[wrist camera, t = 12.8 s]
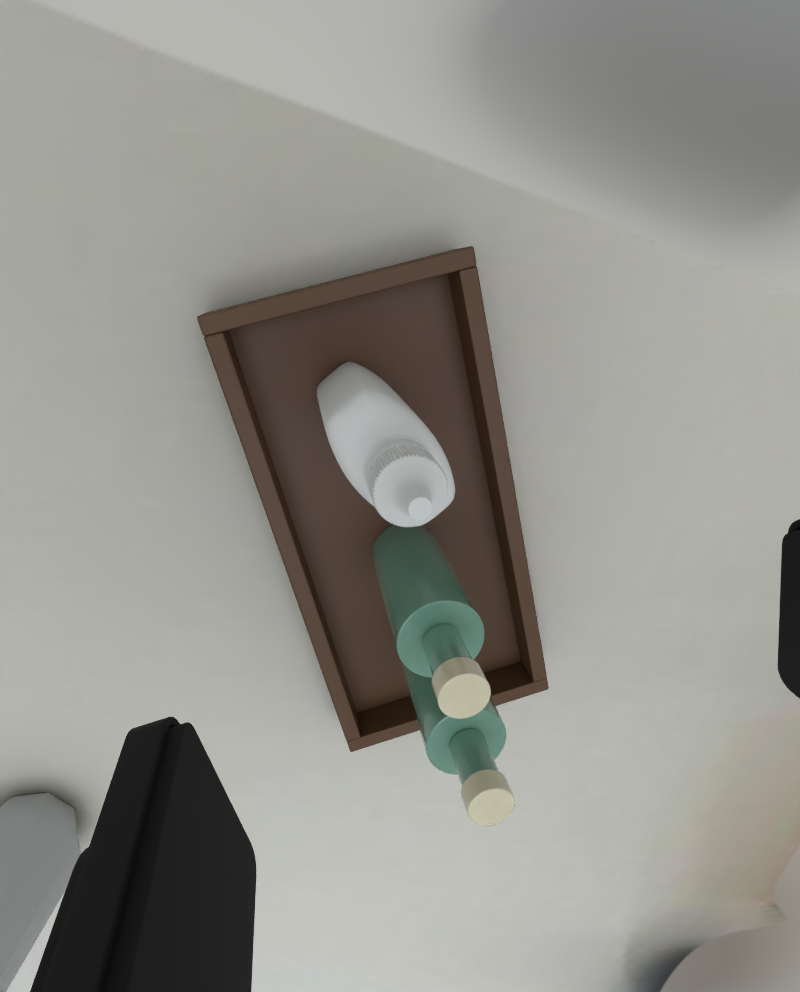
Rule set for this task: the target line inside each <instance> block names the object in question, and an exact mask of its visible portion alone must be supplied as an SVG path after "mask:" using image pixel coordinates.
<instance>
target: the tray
mask: <svg viewBox="0 0 800 992" xmlns="http://www.w3.org/2000/svg"><path fill="white" fill-rule="evenodd" d="M475 266H476V259H475V253H474V248H473V247H472V246H471V247H465V248H460V249H455V250H451V251H447V252H443V253H439V254H435V255H431V256H427V257H423V258H420V259H416V260H412V261H408V262H404V263H400V264H396V265H392V266H388V267H384V268H380V269H376V270H372V271H369V272H365V273H361V274H357V275H353V276H349V277H345V278H341V279H337V280H333V281H329V282H325V283H321V284H318V285H314V286H310V287H306V288H302V289H298V290H294V291H290V292H286V293H282V294H278V295H274V296H270V297H267V298H263V299H259V300H255V301H251V302H247V303H243V304H239V305H235V306H231V307H227V308H223V309H220V310H216V311H212V312H208V313H205V314H202V315H200V316H198V317H197V319H198V322H199V325H200V328H201V331H202V334H203V335H204V336H205V337H204V339H205V342H206V345H207V348H208V351H209V353H210V356H211V359H212V362H213V365H214V368H215V370H216V373H217V376H218V379H219V382H220V385H221V387H222V390H223V393H224V396H225V399H226V401H227V404H228V407H229V410H230V413H231V416H232V418H233V421H234V424H235V427H236V430H237V433H238V435H239V438H240V441H241V444H242V447H243V450H244V452H245V455H246V458H247V461H248V464H249V467H250V469H251V472H252V475H253V478H254V481H255V483H256V486H257V489H258V492H259V495H260V498H261V500H262V503H263V506H264V509H265V512H266V515H267V517H268V520H269V523H270V526H271V529H272V532H273V534H274V537H275V540H276V543H277V546H278V548H279V551H280V554H281V557H282V560H283V563H284V565H285V568H286V571H287V574H288V577H289V580H290V582H291V585H292V588H293V591H294V594H295V597H296V599H297V602H298V605H299V608H300V611H301V614H302V616H303V619H304V622H305V625H306V628H307V630H308V633H309V636H310V639H311V642H312V645H313V647H314V650H315V653H316V656H317V659H318V662H319V664H320V667H321V670H322V673H323V676H324V679H325V681H326V684H327V687H328V690H329V693H330V695H331V698H332V701H333V704H334V707H335V710H336V712H337V715H338V718H339V721H340V724H341V727H342V729H343V732H344V735H345V738H346V740H347V743H348V746H349V749H350V751H351V752H353V751H356V750H359V749H362V748H365V747H368V746H371V745H375V744H378V743H381V742H384V741H387V740H390V739H393V738H396V737H400V736H403V735H406V734H409V733H412V732H415V731H418V730H420V728H419V725H418V721H417V718H416V714H415V711H414V707H413V704H412V700H411V697H410V693H409V690H408V686H407V683H406V679H405V676H404V672H403V669H402V665H401V662H400V658H399V655H398V652H397V649H396V645H395V642H394V638H393V635H392V631H391V627H390V624H389V620H388V617H387V613H386V610H385V606H384V603H383V599H382V596H381V592H380V589H379V585H378V582H377V578H376V575H375V571H374V567H373V564H372V558H371V554H372V548H373V545H374V543H375V541H376V539H377V538H378V536H379V535H380V534H381V533H382V532H383V531H384V530H386V529H387V528H389V527H390V526H392V525H394V524H393V523H391V524H390V522H387V520H385V519H384V518H383V517H381V515H380V514H379V513H378V511H377V510H376V508H375V507H374V506H373V505H371V504H370V503H369V502H368V501H367V500H366V499H365V498H363V497H362V495H361V494H360V493H359V492H358V491H357V490H356V489H355V488H354V487H353V485H352V484H351V483H350V481H349V480H348V478H347V477H346V476H345V474H344V472H343V471H342V469H341V467H340V465H339V464H338V462H337V460H336V457H335V455H334V453H333V451H332V448H331V446H330V443H329V440H328V437H327V434H326V431H325V427H324V423H323V419H322V415H321V411H320V407H319V402H318V398H317V387H318V386H319V384H320V383H321V382H322V381H323V380H324V379H325V378H326V377H327V376H328V375H330V374H331V373H332V372H333V371H334V370H336V369H337V368H338V367H339V366H341V365H342V364H344V363H346V362H355V363H357V364H359V365H361V366H363V367H365V368H367V369H368V370H370V371H371V372H373V373H374V374H376V375H377V376H378V377H380V378H381V379H382V380H383V381H385V382H386V383H387V384H388V385H389V386H390V387H391V388H392V389H393V390H394V391H395V392H396V393H397V394H398V396H399V397H400V398H401V399H402V400H403V401H404V402H405V403H406V404H407V405H408V406H409V407H410V409H411V410H412V411H413V412H414V413H415V414H416V415H417V416H418V417H419V418H420V419H421V421H422V422H423V423H424V424H425V425H426V426H427V427H428V429H429V430H430V431H431V433H432V434H433V435H434V437H435V438H436V440H437V441H438V443H439V444H440V446H441V448H442V450H443V451H444V454H445V456H446V458H447V460H448V463H449V465H450V468H451V472H452V475H453V479H454V484H455V495H454V499H453V500H452V502H451V503H450V505H449V506H447V507H446V508H445V509H444V510H443V511H442V512H441V513H439V514H438V515H437V516H436V517H435V518H433V519H432V520H430V521H429V522H427V523H426V524H423V526H425V527H427V528H428V529H429V530H430V531H431V532H432V533H433V534H434V536H435V537H436V539H437V541H438V542H439V544H440V546H441V548H442V550H443V551H444V553H445V555H446V557H447V559H448V560H449V562H450V564H451V566H452V568H453V569H454V571H455V573H456V575H457V577H458V578H459V580H460V582H461V584H462V586H463V587H464V589H465V591H466V593H467V595H468V596H469V598H470V600H471V602H472V604H473V605H474V607H475V609H476V611H477V612H478V614H479V616H480V618H481V620H482V622H483V626H484V641H483V645H482V648H481V650H480V652H479V653H478V655H477V657H476V658H475V659H474V661H476V662H477V663H478V664H479V665H480V667H481V669H482V671H483V673H484V675H485V677H486V679H487V681H488V683H489V685H490V689H491V695H490V696H491V698H492V700H493V702H494V704H495V706H497V705H500V704H503V703H506V702H509V701H513V700H516V699H519V698H522V697H525V696H528V695H531V694H534V693H538V692H541V691H544V690H547V689H548V682H547V676H546V670H545V664H544V658H543V652H542V646H541V640H540V634H539V629H538V623H537V617H536V611H535V605H534V599H533V593H532V588H531V582H530V576H529V570H528V564H527V558H526V552H525V546H524V541H523V535H522V529H521V523H520V517H519V511H518V505H517V499H516V494H515V488H514V482H513V476H512V470H511V464H510V458H509V452H508V447H507V441H506V435H505V429H504V423H503V417H502V411H501V405H500V400H499V394H498V388H497V382H496V376H495V370H494V364H493V359H492V353H491V347H490V341H489V335H488V329H487V323H486V317H485V312H484V306H483V300H482V294H481V288H480V282H479V276H478V270H477V267H475Z"/></svg>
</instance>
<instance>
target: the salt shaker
mask: <svg viewBox="0 0 800 992" xmlns="http://www.w3.org/2000/svg"><path fill="white" fill-rule="evenodd" d="M80 853H81V851H80V846H79V841H78V837H77V829H76V819H75V809H74V808H72V807H71V806H69V805H68V804H66V803H64V802H63V801H61V800H60V799H58V798H56V797H55V796H53V795H52V794H50V793H48V792H47V793H39V794H31V795H22V796H14V797H12V798H10V799H9V800H8V801H7V802H6V803H4V804H3V805H2V806H1V807H0V992H6V991H7V989H8V987H9V986H10V984H11V982H12V981H13V979H14V977H15V975H16V974H17V972H18V970H19V968H20V967H21V965H22V963H23V962H24V960H25V958H26V956H27V955H28V953H29V951H30V950H31V948H32V946H33V944H34V943H35V941H36V939H37V938H38V936H39V934H40V932H41V931H42V929H43V927H44V926H45V924H46V922H47V920H48V919H49V917H50V915H51V914H52V912H53V910H54V908H55V907H56V905H57V903H58V902H59V900H60V898H61V896H62V895H63V893H64V891H65V890H66V888H67V885H68V882H69V879H70V877H71V874H72V871H73V868H74V866H75V864H76V862H77V860H78V858H79V856H80Z"/></svg>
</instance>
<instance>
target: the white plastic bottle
mask: <svg viewBox="0 0 800 992" xmlns="http://www.w3.org/2000/svg"><path fill="white" fill-rule="evenodd" d="M317 398H318V402H319V407H320V411H321V415H322V419H323V423H324V427H325V431H326V434H327V437H328V440H329V443H330V446H331V448H332V451H333V453H334V455H335V457H336V460H337V462H338V464H339V465H340V467H341V469H342V471H343V472H344V474H345V476H346V477H347V478H348V480H349V481H350V483H351V484H352V485H353V487H354V488H355V489H356V490H357V491H358V492H359V493H360V494H361V495H362V497H363V498H365V499H366V500H367V501H368V502H369V503H370V504H371V505H373V506H374V507H375V508H376V510H377V511H378V513H379V514H380V515H381V517H383V518H384V519H385V520H387V522H390V524H391V523H393V524H394V525H397V526H401V527H414V526H421V525H423V524H426V523H427V522H429V521H430V520H432V519H433V518H435V517H436V516H437V515H438V514H439V513H441V512H442V511H443V510H444V509H445V508H446V507H447V506H449V505H450V503H451V502H452V500H453V499H454V495H455V484H454V479H453V475H452V472H451V468H450V465H449V463H448V460H447V458H446V456H445V454H444V451H443V450H442V448H441V446H440V444H439V443H438V441H437V440H436V438H435V437H434V435H433V434H432V433H431V431H430V430H429V429H428V427H427V426H426V425H425V424H424V423H423V422H422V421H421V419H420V418H419V417H418V416H417V415H416V414H415V413H414V412H413V411H412V410H411V409H410V407H409V406H408V405H407V404H406V403H405V402H404V401H403V400H402V399H401V398H400V397H399V396H398V394H397V393H396V392H395V391H394V390H393V389H392V388H391V387H390V386H389V385H388V384H387V383H386V382H385V381H383V380H382V379H381V378H380V377H378V376H377V375H376V374H374V373H373V372H371V371H370V370H368V369H367V368H365V367H363V366H361V365H359V364H357V363H355V362H346V363H344V364H342V365H341V366H339V367H338V368H337V369H336V370H334V371H333V372H332V373H331V374H330V375H328V376H327V377H326V378H325V379H324V380H323V381H322V382H321V383H320V384H319V386H318V387H317Z"/></svg>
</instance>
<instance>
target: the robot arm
mask: <svg viewBox="0 0 800 992" xmlns="http://www.w3.org/2000/svg"><path fill="white" fill-rule="evenodd" d="M778 671H779V674H780V677H781V679H782V681H783V682H784V684H785V685H786V686H787V688H788V689H789V690H790V691H791V692H792V693H794V694H795V695H796V696H797V697H799V698H800V520H797V521H795V522H793V523H792V524H791V526H790V527H789V530H788V534H786V535H785V536H784V538H783V542H782V562H781V590H780V618H779V647H778ZM255 891H256V861H255V855H254V851H253V847H252V845H251V842H250V840H249V838H248V836H247V834H246V832H245V830H244V828H243V826H242V824H241V822H240V820H239V818H238V816H237V814H236V812H235V810H234V808H233V806H232V804H231V802H230V800H229V798H228V796H227V794H226V792H225V790H224V788H223V786H222V784H221V782H220V780H219V778H218V776H217V773H216V771H215V769H214V767H213V765H212V763H211V761H210V759H209V757H208V755H207V753H206V751H205V749H204V747H203V745H202V743H201V741H200V739H199V737H198V735H197V733H196V731H195V729H194V727H193V726H192V725H191V724H190V723H184V724H181V725H180V724H179V722H178V720H176V719H175V718H174V717H168V718H165V719H162V720H158V721H155V722H152V723H149V724H146V725H142V726H139V727H136V728H133V729H131V730H130V731H129V732H128V734H127V736H126V739H125V742H124V745H123V748H122V751H121V754H120V757H119V759H118V762H117V765H116V768H115V771H114V774H113V777H112V780H111V783H110V786H109V789H108V792H107V795H106V798H105V801H104V804H103V807H102V810H101V813H100V816H99V819H98V822H97V825H96V828H95V831H94V834H93V837H92V840H91V843H90V846H89V847H88V848H86V849H85V850H84V851H83V853H82V854H81V855H80V856H79V858H78V860H77V862H76V864H75V866H74V868H73V871H72V874H71V877H70V879H69V882H68V885H67V888H66V891H65V894H64V897H63V899H62V902H61V905H60V908H59V911H58V914H57V917H56V919H55V922H54V925H53V928H52V931H51V934H50V937H49V939H48V942H47V945H46V948H45V951H44V954H43V957H42V959H41V962H40V965H39V968H38V971H37V974H36V977H35V979H34V982H33V985H32V988H31V991H30V992H251V982H252V959H253V936H254V914H255Z"/></svg>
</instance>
